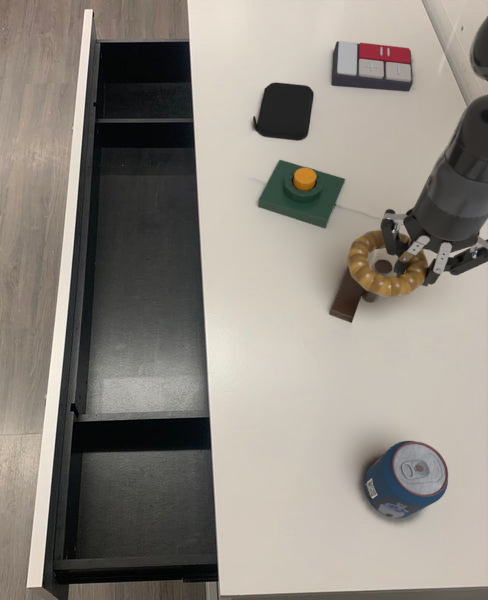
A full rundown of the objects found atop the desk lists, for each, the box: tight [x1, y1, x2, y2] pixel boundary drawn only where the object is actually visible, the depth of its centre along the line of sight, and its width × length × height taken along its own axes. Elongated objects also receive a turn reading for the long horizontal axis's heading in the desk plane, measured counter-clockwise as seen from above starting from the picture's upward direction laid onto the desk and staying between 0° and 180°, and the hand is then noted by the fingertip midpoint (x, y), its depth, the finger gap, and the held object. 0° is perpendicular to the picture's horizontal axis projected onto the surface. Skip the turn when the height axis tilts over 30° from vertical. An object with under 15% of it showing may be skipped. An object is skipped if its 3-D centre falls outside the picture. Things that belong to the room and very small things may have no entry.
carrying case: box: [252, 82, 315, 141], centre depth 101 cm, size 11×3×15 cm
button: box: [293, 167, 316, 191], centre depth 88 cm, size 4×4×2 cm
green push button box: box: [257, 159, 346, 229], centre depth 90 cm, size 12×10×4 cm
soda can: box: [363, 440, 449, 519], centre depth 62 cm, size 7×7×12 cm
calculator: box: [330, 40, 413, 93], centre depth 106 cm, size 11×4×15 cm
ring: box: [346, 229, 429, 298], centre depth 72 cm, size 10×10×3 cm
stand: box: [328, 258, 394, 324], centre depth 77 cm, size 9×9×10 cm
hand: (412, 276), depth 72 cm, fingers closed on ring, 2 cm apart
